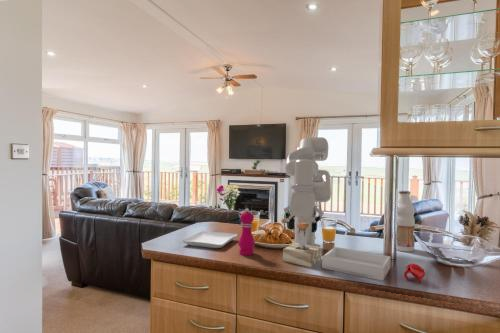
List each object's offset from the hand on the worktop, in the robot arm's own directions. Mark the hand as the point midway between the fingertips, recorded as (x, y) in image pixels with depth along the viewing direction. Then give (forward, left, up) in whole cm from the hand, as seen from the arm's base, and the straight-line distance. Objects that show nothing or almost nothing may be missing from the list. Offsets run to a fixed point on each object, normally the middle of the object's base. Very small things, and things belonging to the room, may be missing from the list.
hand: (302, 230), depth 126 cm
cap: (-3, +41, -13) cm, 43 cm away
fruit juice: (-44, +33, -13) cm, 57 cm away
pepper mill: (+5, -24, -13) cm, 28 cm away
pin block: (-1, 0, -13) cm, 13 cm away
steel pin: (-1, 0, -13) cm, 13 cm away
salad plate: (+1, -48, -13) cm, 50 cm away
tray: (-5, +21, -13) cm, 25 cm away
